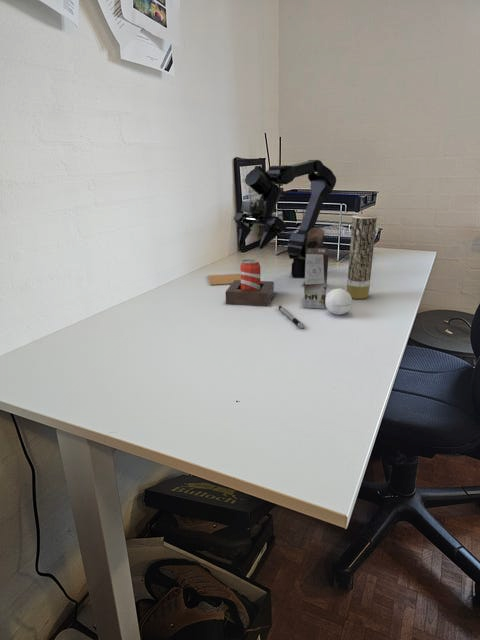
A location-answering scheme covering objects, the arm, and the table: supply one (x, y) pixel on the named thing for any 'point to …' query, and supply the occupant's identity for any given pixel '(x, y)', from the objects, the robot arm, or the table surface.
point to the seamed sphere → (338, 301)
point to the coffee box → (315, 277)
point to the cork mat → (223, 279)
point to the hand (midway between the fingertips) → (249, 246)
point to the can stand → (250, 294)
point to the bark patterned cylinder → (361, 255)
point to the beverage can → (250, 274)
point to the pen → (291, 317)
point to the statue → (315, 239)
